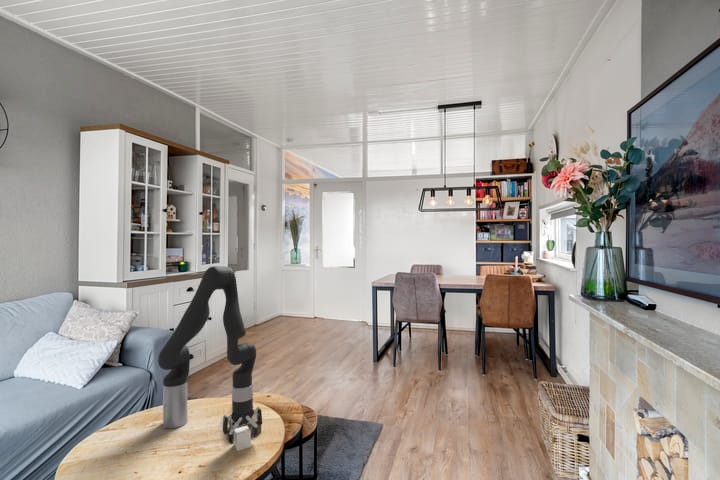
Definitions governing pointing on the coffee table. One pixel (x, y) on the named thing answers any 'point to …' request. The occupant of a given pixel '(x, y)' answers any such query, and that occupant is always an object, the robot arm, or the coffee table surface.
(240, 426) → the walnut block
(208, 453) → the coffee table surface
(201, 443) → the coffee table surface
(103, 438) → the coffee table surface
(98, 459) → the coffee table surface
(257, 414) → the robot arm
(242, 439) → the cream block
